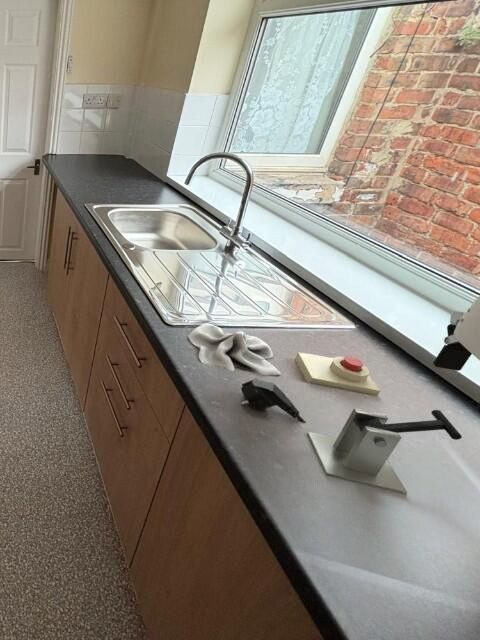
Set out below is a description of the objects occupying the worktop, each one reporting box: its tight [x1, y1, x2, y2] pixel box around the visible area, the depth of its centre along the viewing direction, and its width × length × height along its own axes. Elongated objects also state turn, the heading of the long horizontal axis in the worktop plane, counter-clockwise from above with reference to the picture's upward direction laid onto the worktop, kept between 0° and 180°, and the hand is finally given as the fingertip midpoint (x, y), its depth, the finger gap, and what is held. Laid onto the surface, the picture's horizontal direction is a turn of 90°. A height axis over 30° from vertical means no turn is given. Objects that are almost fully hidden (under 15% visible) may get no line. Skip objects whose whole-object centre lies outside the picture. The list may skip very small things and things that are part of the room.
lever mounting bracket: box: [306, 407, 408, 495], centre depth 71 cm, size 11×9×11 cm
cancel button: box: [341, 355, 364, 372], centre depth 90 cm, size 3×3×2 cm
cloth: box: [187, 323, 282, 377], centre depth 99 cm, size 22×19×6 cm
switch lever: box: [358, 409, 463, 441], centre depth 68 cm, size 11×5×2 cm, turn 70°
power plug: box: [240, 378, 307, 424], centre depth 84 cm, size 6×8×12 cm
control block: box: [294, 351, 381, 397], centre depth 92 cm, size 12×9×4 cm
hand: (466, 389), depth 62 cm, fingers open, 9 cm apart
